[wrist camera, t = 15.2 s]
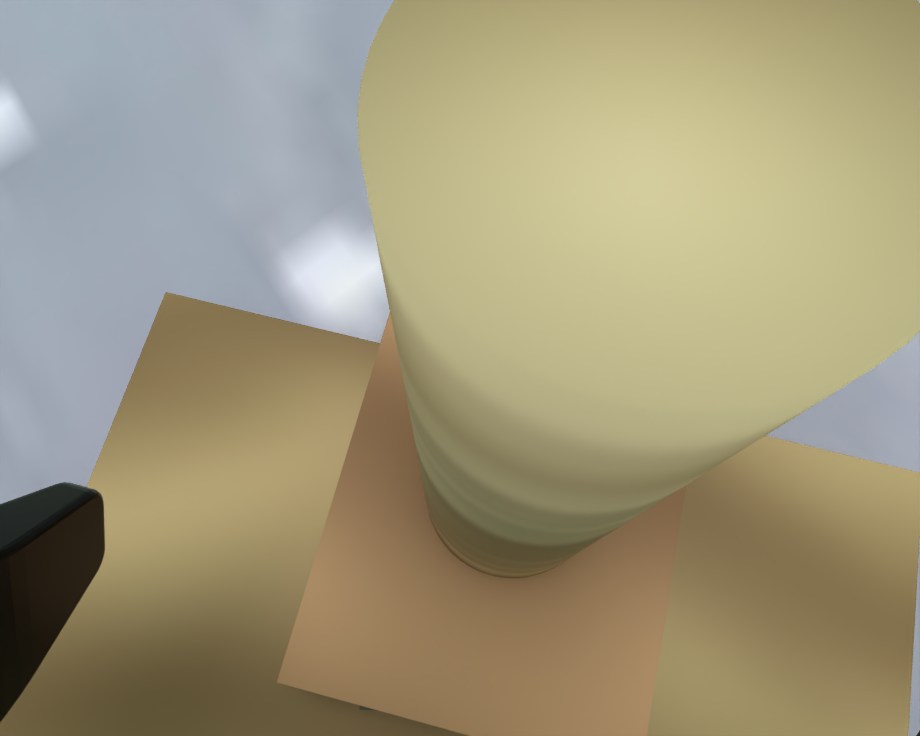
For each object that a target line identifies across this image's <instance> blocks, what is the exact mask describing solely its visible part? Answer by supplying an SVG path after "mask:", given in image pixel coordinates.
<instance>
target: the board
mask: <svg viewBox="0 0 920 736" xmlns="http://www.w3.org/2000/svg"><path fill="white" fill-rule="evenodd" d="M379 346H380V343H376V342H372V341H368V340H364V339H359V338H355V337H351V336H347V335H343V334H339V333H334V332H330V331H326V330H322V329H318V328H314V327H309V326H305V325H301V324H297V323H293V322H288V321H284V320H280V319H276V318H272V317H268V316H263V315H259V314H255V313H251V312H247V311H243V310H238V309H234V308H230V307H226V306H222V305H217V304H213V303H209V302H205V301H201V300H197V299H192V298H188V297H184V296H180V295H176V294H172V293H167V292H166V293H165V295H164V298H163V300H162V303H161V305H160V308H159V310H158V312H157V315H156V317H155V320H154V322H153V325H152V327H151V330H150V332H149V335H148V337H147V340H146V342H145V344H144V347H143V349H142V352H141V354H140V357H139V359H138V362H137V364H136V367H135V369H134V372H133V374H132V376H131V379H130V381H129V384H128V386H127V389H126V391H125V394H124V396H123V399H122V401H121V404H120V406H119V408H118V411H117V413H116V416H115V418H114V421H113V423H112V426H111V428H110V431H109V433H108V436H107V438H106V440H105V443H104V445H103V448H102V450H101V453H100V455H99V458H98V460H97V463H96V465H95V468H94V470H93V472H92V475H91V477H90V480H89V482H88V485H87V487H88V488H92V489H95V490H97V491H98V492H100V494H101V495H102V497H103V502H104V526H105V553H104V558H103V561H102V564H101V566H100V568H99V570H98V572H97V574H96V575H95V577H94V578H93V580H92V582H91V583H90V585H89V587H88V588H87V590H86V591H85V593H84V595H83V596H82V598H81V600H80V601H79V603H78V604H77V606H76V608H75V609H74V611H73V613H72V614H71V616H70V617H69V619H68V621H67V622H66V624H65V626H64V627H63V629H62V630H61V632H60V634H59V635H58V637H57V639H56V640H55V642H54V643H53V645H52V647H51V648H50V650H49V652H48V653H47V655H46V656H45V658H44V660H43V661H42V663H41V665H40V666H39V668H38V669H37V671H36V673H35V674H34V676H33V677H32V679H31V680H30V682H29V683H28V685H27V686H26V688H25V690H24V691H23V693H22V694H21V695H20V697H19V698H18V699H17V701H16V702H15V704H14V705H13V706H12V708H11V709H10V710H9V712H8V713H7V715H6V716H5V717H4V718H3V720H2V721H1V722H0V736H469V735H465V734H462V733H458V732H454V731H451V730H447V729H444V728H440V727H436V726H433V725H429V724H426V723H422V722H418V721H415V720H411V719H407V718H404V717H400V716H397V715H393V714H389V713H386V712H382V711H378V710H375V709H371V708H368V707H364V706H360V705H357V704H353V703H349V702H346V701H342V700H339V699H335V698H331V697H328V696H324V695H321V694H317V693H313V692H310V691H306V690H302V689H299V688H295V687H292V686H288V685H284V684H281V683H277V680H278V677H279V673H280V670H281V667H282V663H283V660H284V657H285V654H286V650H287V647H288V644H289V641H290V637H291V634H292V631H293V627H294V624H295V621H296V618H297V614H298V611H299V608H300V605H301V601H302V598H303V595H304V591H305V588H306V585H307V582H308V578H309V575H310V572H311V569H312V565H313V562H314V559H315V556H316V552H317V549H318V546H319V542H320V539H321V536H322V533H323V529H324V526H325V523H326V520H327V516H328V513H329V510H330V506H331V503H332V500H333V497H334V493H335V490H336V487H337V484H338V480H339V477H340V474H341V471H342V467H343V464H344V461H345V457H346V454H347V451H348V448H349V444H350V441H351V438H352V435H353V431H354V428H355V425H356V421H357V418H358V415H359V412H360V408H361V405H362V402H363V399H364V395H365V392H366V389H367V385H368V382H369V379H370V376H371V372H372V369H373V366H374V363H375V359H376V356H377V353H378V350H379ZM919 538H920V473H919V472H915V471H911V470H907V469H902V468H898V467H894V466H890V465H886V464H881V463H877V462H873V461H869V460H865V459H861V458H856V457H852V456H848V455H844V454H840V453H836V452H831V451H827V450H823V449H819V448H815V447H810V446H806V445H802V444H798V443H794V442H790V441H785V440H781V439H777V438H773V437H769V436H764V437H762V438H761V439H759V440H757V441H756V442H754V443H753V444H751V445H749V446H748V447H746V448H745V449H743V450H741V451H740V452H738V453H737V454H735V455H733V456H732V457H730V458H729V459H727V460H725V461H724V462H722V463H721V464H719V465H717V466H716V467H714V468H713V469H711V470H709V471H708V472H706V473H705V474H703V475H701V476H700V477H698V478H697V479H695V480H693V481H692V482H690V483H689V484H687V485H686V491H685V497H684V504H683V510H682V516H681V523H680V529H679V535H678V542H677V548H676V554H675V561H674V567H673V573H672V580H671V586H670V592H669V599H668V605H667V611H666V618H665V624H664V630H663V637H662V643H661V649H660V656H659V662H658V668H657V675H656V681H655V687H654V694H653V700H652V706H651V713H650V719H649V725H648V732H647V736H908V730H909V712H910V695H911V677H912V660H913V643H914V625H915V608H916V590H917V573H918V556H919Z"/></svg>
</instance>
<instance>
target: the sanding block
mask: <svg viewBox="0 0 920 736" xmlns="http://www.w3.org/2000/svg"><path fill="white" fill-rule="evenodd" d="M357 117H358V139H359V152H360V157H361V163H362V168H363V173H364V178H365V183H366V189H367V194H368V199H369V204H370V210H371V215H372V220H373V225H374V230H375V236H376V241H377V246H378V251H379V256H380V262H381V267H382V272H383V277H384V283H385V288H386V293H387V298H388V303H389V309H390V314H389V317H388V320H387V323H386V327H385V330H384V333H383V336H382V340H381V343H380V346H379V350H378V353H377V356H376V359H375V363H374V366H373V369H372V372H371V376H370V379H369V382H368V385H367V389H366V392H365V395H364V399H363V402H362V405H361V408H360V412H359V415H358V418H357V421H356V425H355V428H354V431H353V435H352V438H351V441H350V444H349V448H348V451H347V454H346V457H345V461H344V464H343V467H342V471H341V474H340V477H339V480H338V484H337V487H336V490H335V493H334V497H333V500H332V503H331V506H330V510H329V513H328V516H327V520H326V523H325V526H324V529H323V533H322V536H321V539H320V542H319V546H318V549H317V552H316V556H315V559H314V562H313V565H312V569H311V572H310V575H309V578H308V582H307V585H306V588H305V591H304V595H303V598H302V601H301V605H300V608H299V611H298V614H297V618H296V621H295V624H294V627H293V631H292V634H291V637H290V641H289V644H288V647H287V650H286V654H285V657H284V660H283V663H282V667H281V670H280V673H279V677H278V680H277V683H281V684H284V685H288V686H292V687H295V688H299V689H302V690H306V691H310V692H313V693H317V694H321V695H324V696H328V697H331V698H335V699H339V700H342V701H346V702H349V703H353V704H357V705H360V706H364V707H368V708H371V709H375V710H378V711H382V712H386V713H389V714H393V715H397V716H400V717H404V718H407V719H411V720H415V721H418V722H422V723H426V724H429V725H433V726H436V727H440V728H444V729H447V730H451V731H454V732H458V733H462V734H465V735H469V736H647V732H648V725H649V719H650V713H651V706H652V700H653V694H654V687H655V681H656V675H657V668H658V662H659V656H660V649H661V643H662V637H663V630H664V624H665V618H666V611H667V605H668V599H669V592H670V586H671V580H672V573H673V567H674V561H675V554H676V548H677V542H678V535H679V529H680V523H681V516H682V510H683V504H684V497H685V491H686V485H687V484H689V483H690V482H692V481H693V480H695V479H697V478H698V477H700V476H701V475H703V474H705V473H706V472H708V471H709V470H711V469H713V468H714V467H716V466H717V465H719V464H721V463H722V462H724V461H725V460H727V459H729V458H730V457H732V456H733V455H735V454H737V453H738V452H740V451H741V450H743V449H745V448H746V447H748V446H749V445H751V444H753V443H754V442H756V441H757V440H759V439H761V438H762V437H764V436H765V435H767V434H769V433H770V432H772V431H773V430H775V429H777V428H778V427H780V426H781V425H783V424H785V423H786V422H788V421H789V420H791V419H793V418H794V417H796V416H797V415H799V414H801V413H802V412H804V411H805V410H807V409H809V408H810V407H812V406H813V405H815V404H817V403H818V402H820V401H821V400H823V399H825V398H826V397H828V396H829V395H831V394H833V393H834V392H836V391H837V390H839V389H841V388H842V387H844V386H845V385H847V384H849V383H850V382H852V381H854V380H855V379H857V378H858V377H860V376H862V375H863V374H865V373H866V372H868V371H870V370H871V369H873V368H874V367H876V366H877V365H879V364H880V363H881V362H883V361H884V360H885V359H887V358H888V357H889V356H891V355H892V354H893V353H895V352H896V351H897V350H899V349H900V348H902V347H903V346H904V345H906V344H907V343H908V342H909V341H910V340H911V339H912V338H913V337H914V336H915V335H916V334H917V333H918V332H919V331H920V3H919V2H918V1H917V0H395V1H394V2H393V4H392V5H391V7H390V9H389V10H388V12H387V13H386V15H385V16H384V18H383V20H382V22H381V25H380V27H379V29H378V31H377V34H376V36H375V38H374V40H373V43H372V45H371V47H370V50H369V54H368V57H367V61H366V65H365V68H364V72H363V76H362V79H361V87H360V96H359V104H358V113H357Z"/></svg>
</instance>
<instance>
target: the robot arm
mask: <svg viewBox="0 0 920 736" xmlns="http://www.w3.org/2000/svg"><path fill="white" fill-rule="evenodd" d="M104 553H105V526H104V502H103V497H102V495H101V494H100V492H98V491H97V490H95V489H92V488H88V487H84V486H80V485H76V484H73V483H66V482H64V483H59V484H55V485H53V486H50V487H47V488H44V489H41V490H39V491H36V492H33V493H30V494H28V495H25V496H22V497H19V498H16V499H14V500H11V501H8V502H5V503H3V504H0V722H1V721H2V720H3V718H4V717H5V716H6V715H7V713H8V712H9V710H10V709H11V708H12V706H13V705H14V704H15V702H16V701H17V699H18V698H19V697H20V695H21V694H22V693H23V691H24V690H25V688H26V686H27V685H28V683H29V682H30V680H31V679H32V677H33V676H34V674H35V673H36V671H37V669H38V668H39V666H40V665H41V663H42V661H43V660H44V658H45V656H46V655H47V653H48V652H49V650H50V648H51V647H52V645H53V643H54V642H55V640H56V639H57V637H58V635H59V634H60V632H61V630H62V629H63V627H64V626H65V624H66V622H67V621H68V619H69V617H70V616H71V614H72V613H73V611H74V609H75V608H76V606H77V604H78V603H79V601H80V600H81V598H82V596H83V595H84V593H85V591H86V590H87V588H88V587H89V585H90V583H91V582H92V580H93V578H94V577H95V575H96V574H97V572H98V570H99V568H100V566H101V564H102V561H103V558H104ZM917 736H920V731H919V733H918V734H917Z"/></svg>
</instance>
